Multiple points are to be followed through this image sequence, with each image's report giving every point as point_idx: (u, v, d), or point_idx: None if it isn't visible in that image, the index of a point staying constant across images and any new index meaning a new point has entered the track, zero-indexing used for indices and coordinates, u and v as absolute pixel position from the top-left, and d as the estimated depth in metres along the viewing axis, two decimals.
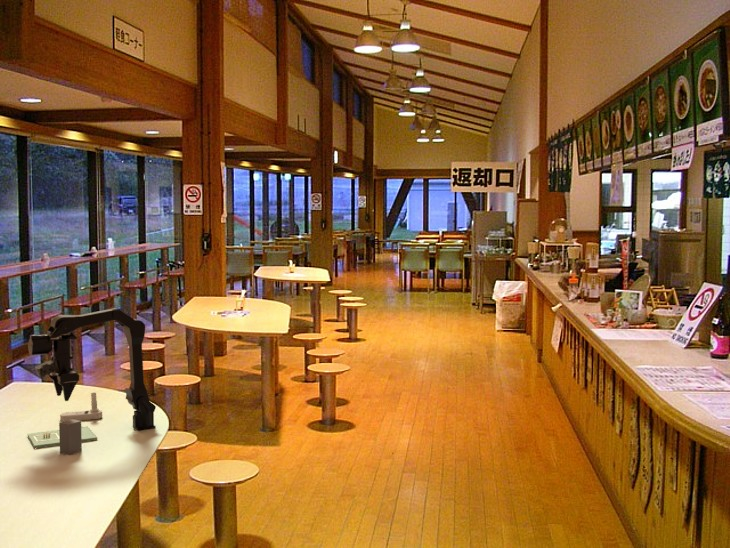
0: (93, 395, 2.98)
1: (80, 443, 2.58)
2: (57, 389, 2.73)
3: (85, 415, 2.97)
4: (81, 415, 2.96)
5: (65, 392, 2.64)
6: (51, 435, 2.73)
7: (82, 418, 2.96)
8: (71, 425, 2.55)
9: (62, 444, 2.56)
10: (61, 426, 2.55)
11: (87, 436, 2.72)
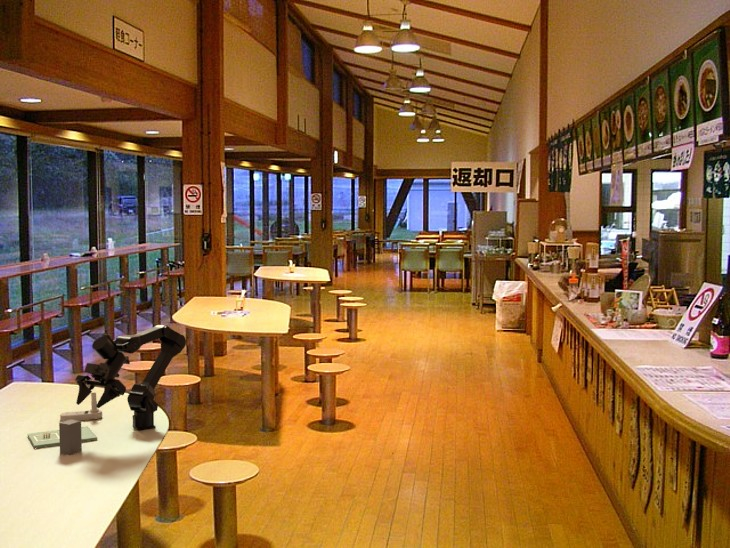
0: (93, 395, 2.98)
1: (80, 443, 2.58)
2: (80, 397, 2.66)
3: (85, 415, 2.97)
4: (81, 415, 2.96)
5: (103, 398, 2.62)
6: (51, 435, 2.73)
7: (82, 418, 2.96)
8: (71, 425, 2.55)
9: (62, 444, 2.56)
10: (61, 426, 2.55)
11: (87, 436, 2.72)
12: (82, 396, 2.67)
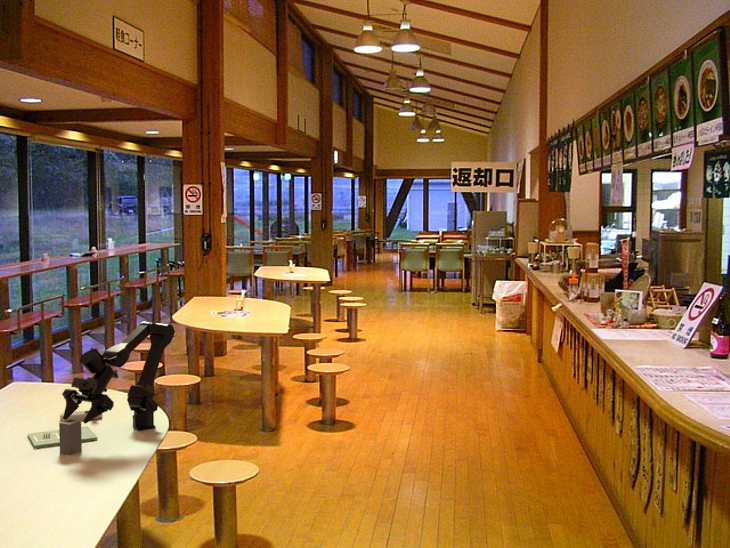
0: None
1: (80, 443, 2.58)
2: (67, 412, 2.61)
3: (85, 415, 2.97)
4: (81, 415, 2.96)
5: (91, 413, 2.57)
6: (51, 435, 2.73)
7: (82, 418, 2.97)
8: (71, 425, 2.55)
9: (62, 444, 2.56)
10: (61, 426, 2.55)
11: (87, 436, 2.72)
12: (69, 411, 2.62)
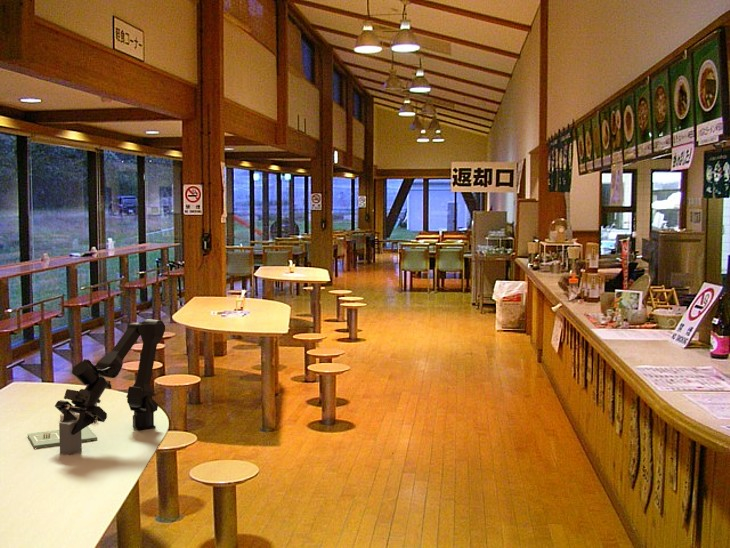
0: None
1: (80, 443, 2.58)
2: None
3: None
4: None
5: (78, 425, 2.56)
6: (51, 435, 2.73)
7: None
8: (71, 425, 2.55)
9: (62, 444, 2.56)
10: (61, 426, 2.55)
11: (87, 436, 2.72)
12: None
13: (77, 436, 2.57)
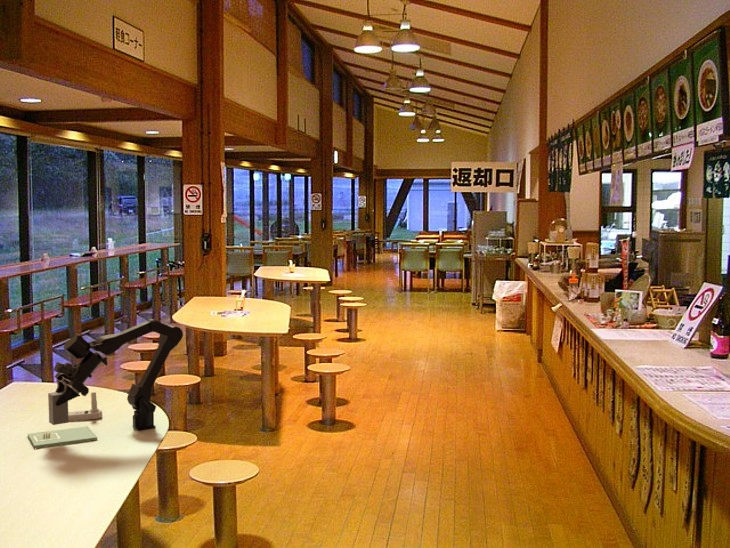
0: (93, 395, 2.99)
1: (66, 414, 2.67)
2: None
3: (85, 415, 2.97)
4: (81, 415, 2.96)
5: (62, 397, 2.65)
6: (51, 435, 2.73)
7: (82, 418, 2.97)
8: (55, 396, 2.65)
9: (50, 414, 2.67)
10: (49, 396, 2.67)
11: (87, 436, 2.72)
12: None
13: (63, 408, 2.66)
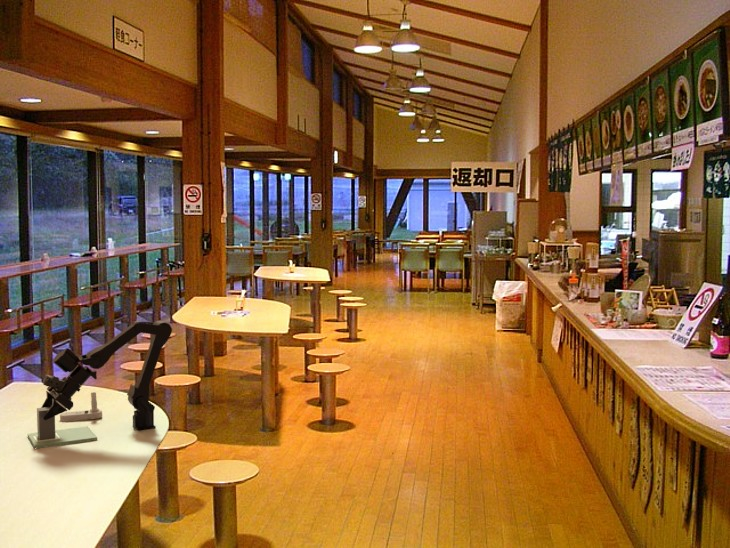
0: (93, 395, 2.99)
1: (53, 430, 2.69)
2: (43, 407, 2.73)
3: (85, 415, 2.97)
4: (81, 415, 2.97)
5: (50, 411, 2.65)
6: None
7: (82, 418, 2.97)
8: (42, 411, 2.67)
9: (38, 429, 2.70)
10: (37, 412, 2.69)
11: (87, 436, 2.72)
12: (46, 406, 2.74)
13: (49, 423, 2.69)
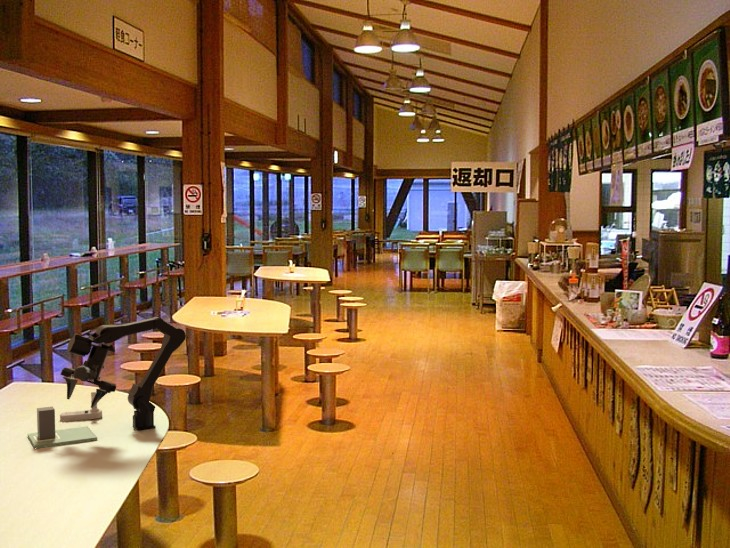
0: (93, 395, 2.99)
1: (53, 430, 2.69)
2: (69, 393, 2.75)
3: (85, 415, 2.97)
4: (81, 415, 2.97)
5: (96, 400, 2.73)
6: None
7: (82, 418, 2.97)
8: (42, 411, 2.67)
9: (38, 429, 2.70)
10: (37, 412, 2.69)
11: (87, 436, 2.72)
12: (71, 390, 2.75)
13: (49, 423, 2.69)
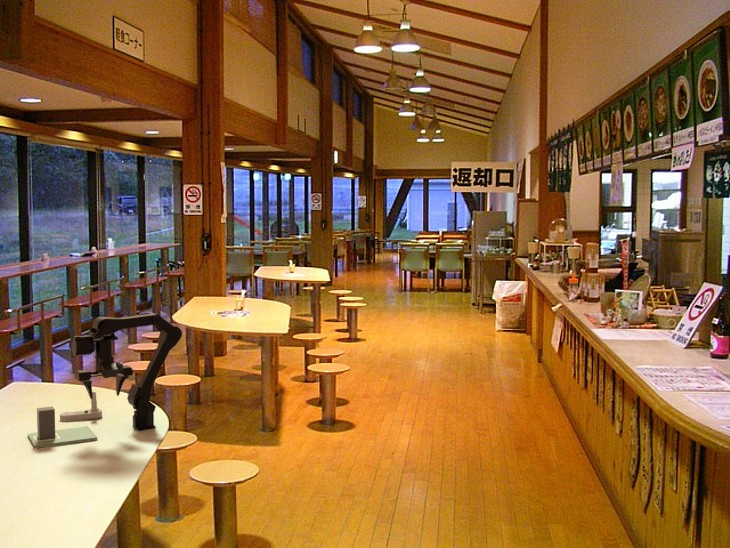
0: (93, 394, 2.99)
1: (53, 430, 2.69)
2: None
3: (85, 414, 2.97)
4: (81, 415, 2.97)
5: None
6: None
7: (82, 418, 2.97)
8: (42, 411, 2.67)
9: (38, 429, 2.70)
10: (37, 412, 2.69)
11: (87, 436, 2.72)
12: None
13: (49, 423, 2.69)
